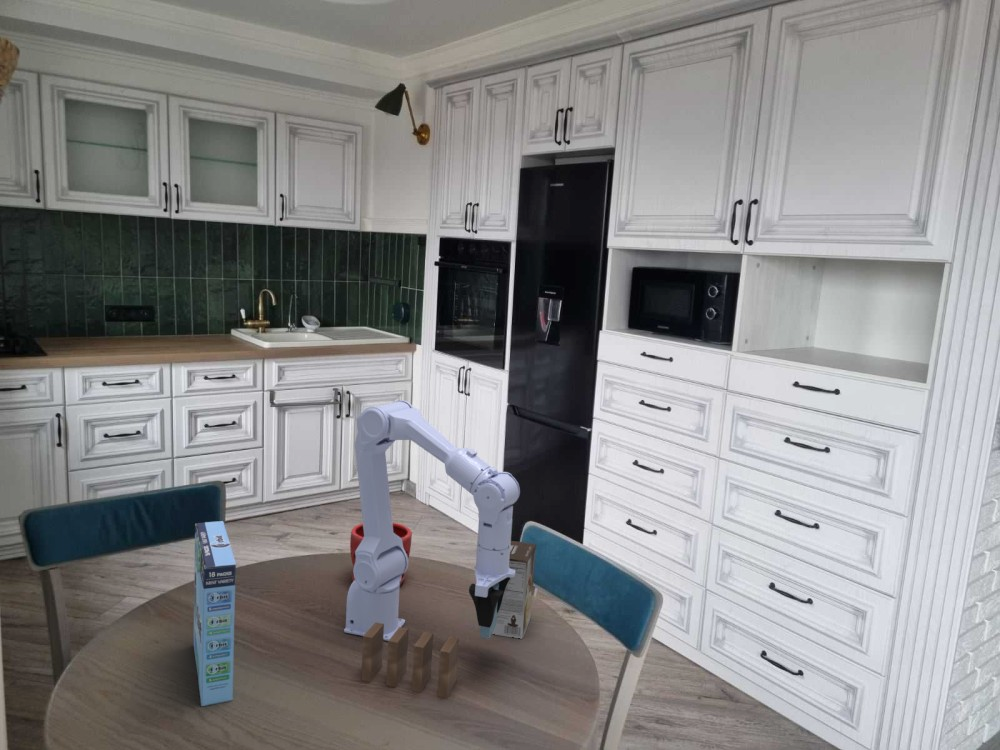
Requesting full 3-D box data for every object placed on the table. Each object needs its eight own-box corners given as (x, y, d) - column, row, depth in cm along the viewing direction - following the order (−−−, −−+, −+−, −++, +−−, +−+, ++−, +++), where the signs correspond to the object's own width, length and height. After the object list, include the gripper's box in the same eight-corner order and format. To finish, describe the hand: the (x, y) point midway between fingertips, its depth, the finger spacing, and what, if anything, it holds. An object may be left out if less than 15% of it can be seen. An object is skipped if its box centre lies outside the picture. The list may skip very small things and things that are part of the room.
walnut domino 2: (386, 685, 120) (388, 640, 118) (397, 669, 124) (399, 626, 123) (395, 687, 119) (397, 642, 118) (406, 671, 124) (408, 628, 123)
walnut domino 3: (411, 691, 119) (414, 645, 117) (422, 674, 123) (424, 631, 122) (420, 692, 118) (423, 647, 117) (430, 676, 123) (433, 633, 122)
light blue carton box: (193, 645, 128) (193, 522, 125) (223, 640, 130) (224, 519, 127) (200, 708, 111) (200, 567, 107) (235, 701, 113) (237, 563, 110)
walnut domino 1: (361, 680, 121) (363, 636, 119) (373, 665, 125) (375, 622, 124) (370, 682, 120) (372, 637, 119) (382, 666, 125) (384, 623, 124)
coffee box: (500, 613, 147) (505, 538, 145) (531, 618, 146) (536, 543, 144) (491, 635, 138) (496, 555, 136) (523, 640, 137) (529, 560, 135)
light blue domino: (479, 637, 123) (482, 593, 122) (487, 623, 128) (490, 581, 127) (488, 638, 123) (492, 595, 122) (496, 625, 128) (499, 583, 127)
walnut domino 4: (437, 696, 118) (440, 650, 116) (447, 679, 122) (449, 636, 121) (446, 698, 117) (449, 652, 116) (456, 681, 122) (458, 637, 121)
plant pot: (405, 596, 152) (408, 542, 150) (343, 593, 151) (345, 539, 150) (412, 570, 165) (414, 520, 163) (354, 567, 164) (356, 517, 163)
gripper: (506, 563, 115) (501, 642, 117) (525, 533, 129) (520, 604, 131) (464, 557, 117) (460, 635, 119) (487, 527, 131) (482, 597, 133)
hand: (488, 618), depth 125 cm, fingers closed on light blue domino, 5 cm apart
